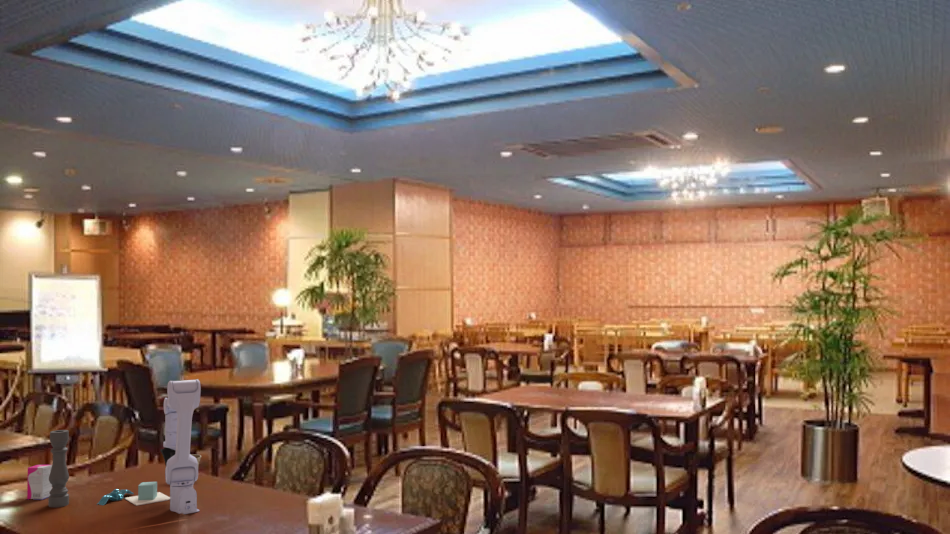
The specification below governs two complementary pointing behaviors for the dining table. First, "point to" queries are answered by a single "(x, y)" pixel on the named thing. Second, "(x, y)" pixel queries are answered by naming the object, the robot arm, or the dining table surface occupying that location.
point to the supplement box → (38, 482)
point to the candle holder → (59, 469)
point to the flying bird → (114, 496)
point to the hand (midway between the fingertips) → (173, 470)
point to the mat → (140, 502)
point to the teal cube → (147, 491)
